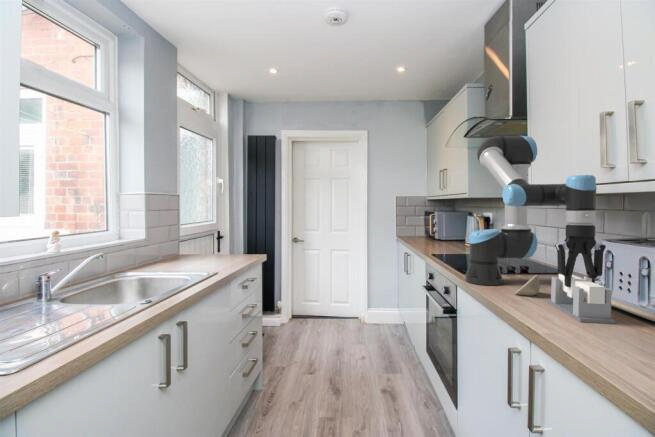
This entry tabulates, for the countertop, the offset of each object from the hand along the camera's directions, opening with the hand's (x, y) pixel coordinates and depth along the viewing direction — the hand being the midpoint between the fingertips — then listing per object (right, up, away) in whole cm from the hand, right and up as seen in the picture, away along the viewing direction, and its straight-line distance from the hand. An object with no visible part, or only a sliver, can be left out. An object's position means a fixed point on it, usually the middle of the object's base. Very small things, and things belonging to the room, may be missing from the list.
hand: (579, 297), depth 107 cm
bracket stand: (0, -5, 0) cm, 5 cm away
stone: (-4, -4, +22) cm, 23 cm away
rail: (0, +1, 0) cm, 1 cm away
